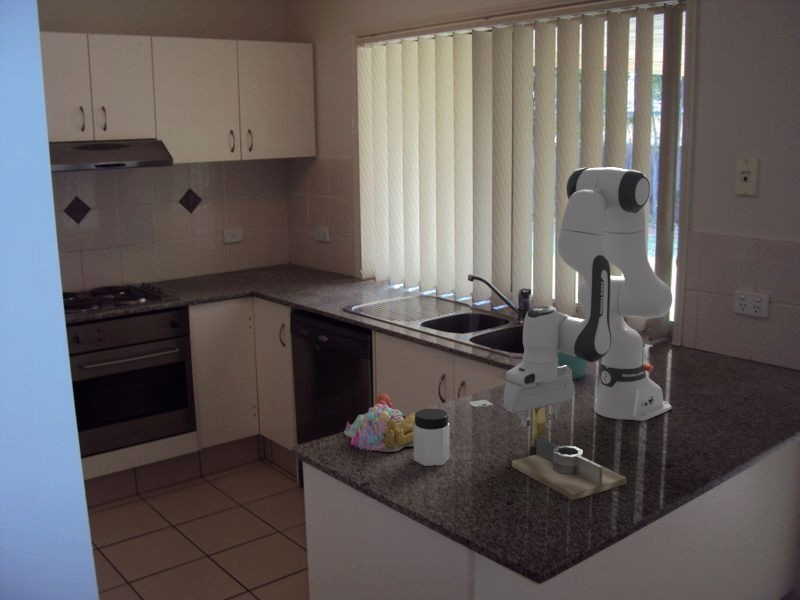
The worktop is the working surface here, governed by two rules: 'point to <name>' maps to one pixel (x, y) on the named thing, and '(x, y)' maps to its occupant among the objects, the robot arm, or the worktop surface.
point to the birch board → (566, 478)
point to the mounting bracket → (480, 403)
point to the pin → (538, 424)
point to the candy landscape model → (382, 428)
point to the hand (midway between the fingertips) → (539, 422)
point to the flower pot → (572, 364)
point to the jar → (431, 437)
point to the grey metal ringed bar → (569, 461)
